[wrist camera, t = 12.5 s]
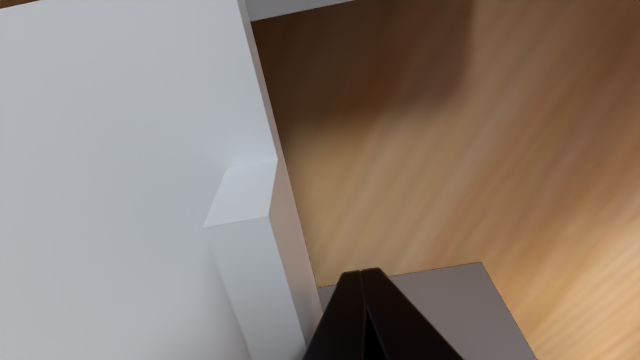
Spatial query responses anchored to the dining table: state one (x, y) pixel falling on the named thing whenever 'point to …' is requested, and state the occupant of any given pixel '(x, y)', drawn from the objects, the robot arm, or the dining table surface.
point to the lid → (144, 188)
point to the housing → (439, 273)
